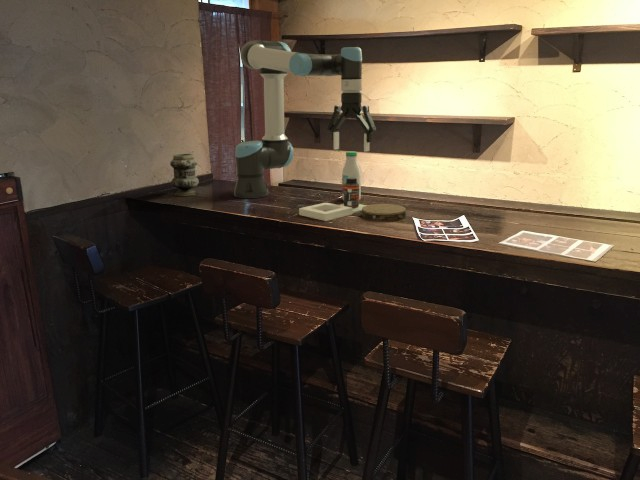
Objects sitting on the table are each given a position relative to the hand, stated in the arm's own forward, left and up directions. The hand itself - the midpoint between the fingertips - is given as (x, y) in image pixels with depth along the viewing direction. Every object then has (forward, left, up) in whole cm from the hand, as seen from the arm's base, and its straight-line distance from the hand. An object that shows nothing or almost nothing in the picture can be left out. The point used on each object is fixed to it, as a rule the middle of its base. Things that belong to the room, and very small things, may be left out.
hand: (351, 150), depth 200 cm
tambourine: (+17, -1, -23) cm, 29 cm away
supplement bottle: (0, 0, -22) cm, 22 cm away
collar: (0, -14, -22) cm, 26 cm away
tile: (0, 0, -22) cm, 23 cm away
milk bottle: (-11, +12, -23) cm, 28 cm away
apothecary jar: (-76, -28, -23) cm, 84 cm away
